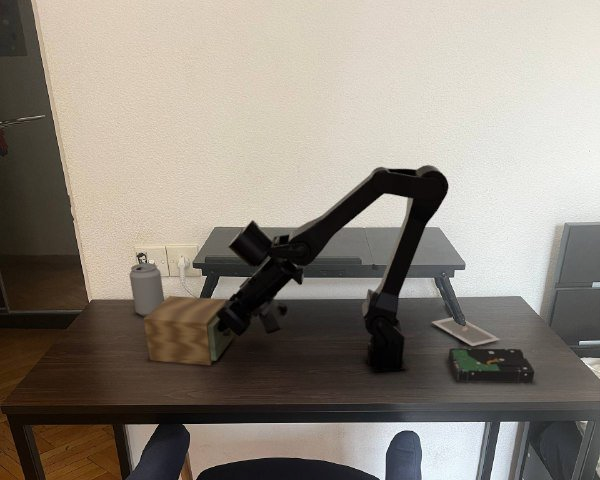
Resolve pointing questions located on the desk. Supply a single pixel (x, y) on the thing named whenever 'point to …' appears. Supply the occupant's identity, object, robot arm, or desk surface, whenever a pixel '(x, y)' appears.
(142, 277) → the can
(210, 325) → the drawer
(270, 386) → the desk surface
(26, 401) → the desk surface
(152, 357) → the cabinet
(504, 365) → the disk drive
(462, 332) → the touchpad
